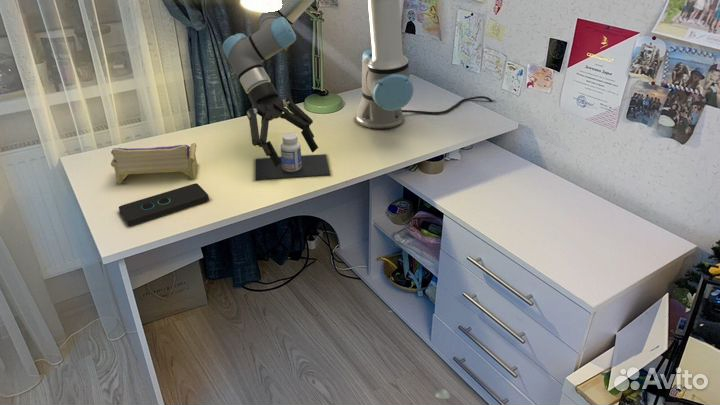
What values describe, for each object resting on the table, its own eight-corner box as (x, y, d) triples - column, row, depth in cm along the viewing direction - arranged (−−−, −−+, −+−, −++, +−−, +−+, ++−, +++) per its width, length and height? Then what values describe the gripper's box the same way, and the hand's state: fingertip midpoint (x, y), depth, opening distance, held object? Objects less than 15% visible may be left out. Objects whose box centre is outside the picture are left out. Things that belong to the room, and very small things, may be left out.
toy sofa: (199, 164, 158) (194, 131, 153) (197, 179, 151) (191, 145, 146) (122, 169, 156) (113, 136, 150) (115, 185, 148) (106, 150, 143)
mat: (325, 155, 163) (325, 154, 163) (330, 175, 153) (330, 174, 153) (255, 159, 161) (255, 158, 161) (255, 180, 151) (255, 179, 151)
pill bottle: (294, 161, 159) (292, 129, 154) (305, 168, 156) (303, 136, 151) (278, 167, 156) (275, 135, 151) (289, 174, 153) (287, 142, 148)
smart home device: (117, 205, 137) (196, 181, 147) (119, 211, 137) (197, 187, 147) (127, 221, 131) (209, 195, 141) (129, 227, 132) (210, 201, 142)
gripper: (289, 84, 164) (325, 149, 162) (216, 106, 150) (255, 177, 148) (299, 71, 158) (337, 138, 156) (225, 92, 143) (265, 166, 142)
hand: (297, 157), depth 152 cm, fingers open, 12 cm apart
